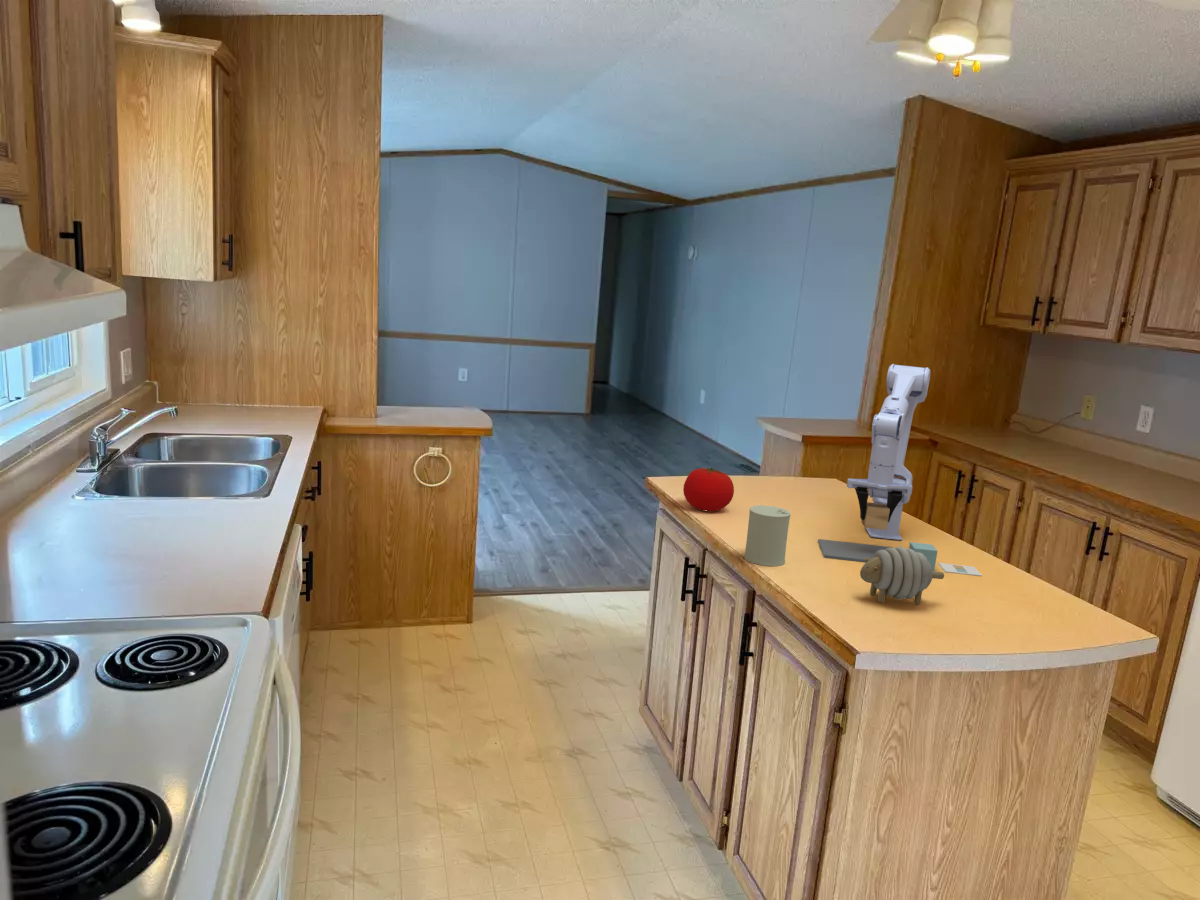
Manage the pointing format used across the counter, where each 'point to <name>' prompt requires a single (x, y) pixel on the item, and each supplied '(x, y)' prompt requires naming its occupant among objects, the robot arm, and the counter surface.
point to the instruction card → (960, 569)
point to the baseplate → (848, 550)
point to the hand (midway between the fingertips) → (874, 519)
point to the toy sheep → (898, 574)
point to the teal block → (925, 552)
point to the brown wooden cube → (876, 516)
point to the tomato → (708, 489)
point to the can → (767, 535)
